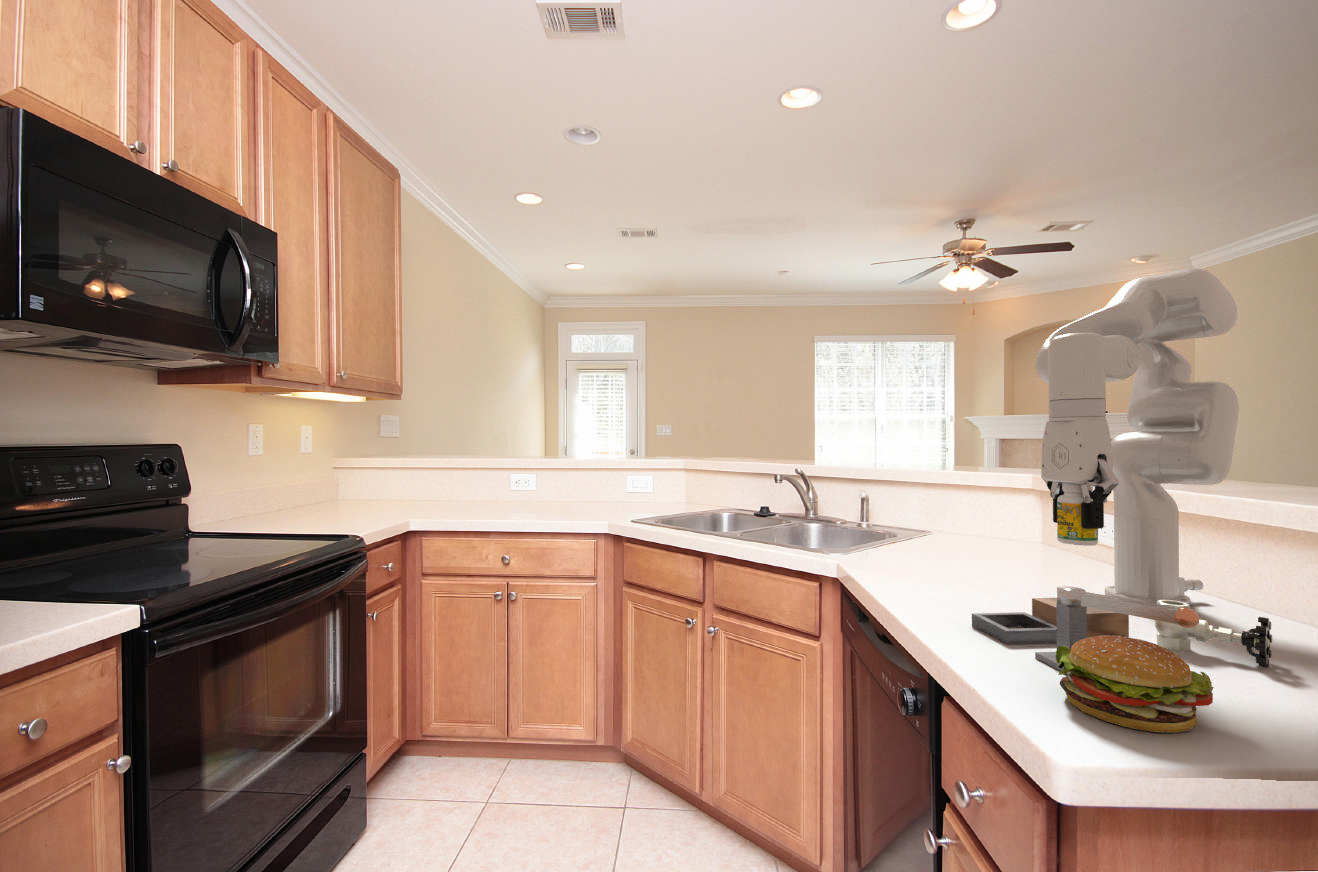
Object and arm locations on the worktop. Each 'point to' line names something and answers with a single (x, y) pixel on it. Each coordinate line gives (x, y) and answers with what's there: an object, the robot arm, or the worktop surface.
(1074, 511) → the supplement bottle
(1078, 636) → the grey upright pillar
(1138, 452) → the robot arm
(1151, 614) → the handle
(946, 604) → the worktop surface
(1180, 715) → the food
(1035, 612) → the walnut block
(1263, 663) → the valve
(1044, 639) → the shallow grey tray
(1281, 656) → the worktop surface
